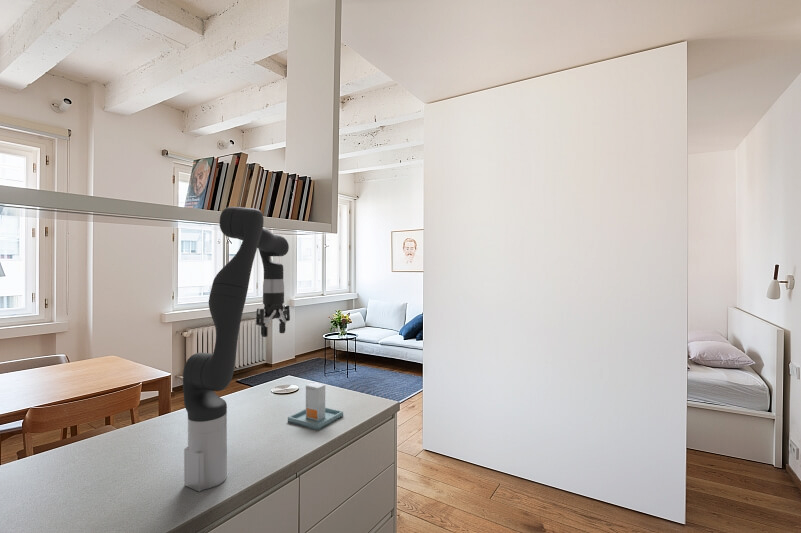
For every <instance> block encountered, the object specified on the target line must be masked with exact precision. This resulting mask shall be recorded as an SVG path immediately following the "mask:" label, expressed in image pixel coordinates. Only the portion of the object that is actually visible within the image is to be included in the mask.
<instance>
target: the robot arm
mask: <svg viewBox="0 0 801 533" xmlns="http://www.w3.org/2000/svg"><path fill="white" fill-rule="evenodd" d="M264 224H265V223H264V214H263V212H262V211H261V210H260V209H257V208H252V207H241V206H227V207H225V208H224V209H223V210H221V212H220V216H219V229H220V232H221V233H222V234H223V235H224V236H225V237H228V238H231V239H237V240H239V241H241V244H240V245H239V246H240V247H239V248H238V251H237V252H236V253H235V255H234V256H233V257H232V258H231V259H230V260H229V261H228V262H227V263H226V264H225V265H224V266H223V267H222V268H221V269H220V270H219V271H218V272H217V274H216V275H215V277H214V279H213V281H212V285H211V287H210V292H209V297H208V308H209V312H210V315H211V319H212V321H213V323H214V328H215V335H216V336H215V343H214V349H213V352H212V353H208V352H197V353H194V354H192V355H190V356H189V358H188V359H187V360H186V362H185V363H184V367H183V371H182V390H183V403H184V409H185V410H186V412H187V447H185V448H184V450H183V456H184V458H183V459H184V460H183V461H184V462H183V464H184V467H183V471H184V472H183V474H184V476H183V477H184V479H183V483H184V486H186V487H188V488H189V489H192V490H195V491H197V492H202V491H204V490H207V489H213V488H215V487H216V486H219V485H221V484H222V483H224V482H225V481H226V480H227V477H228V426H227V425H228V424H227V423H228V418H227V417H228V405H227V402H226V400H224V399H223V398H222V397H220V396H219V395H218V394H217V393H216V392H221V391H223V390H225V389H227V387H228V386H229V385H230V383H231V381H232V378H233V375H234V373H235V372H234V371H235V365H236V361H237V360H236V358H237V350H238V349H237V348H238V339H239V333H240V327H241V322H242V317H243V313H244V309H245V303H246V301H247V300H246V299H247V294H248V290H249V287H250V286H249V285H250V281H251V280H250V279H251V274H252V273H251V272H252V268H253V265H254V260H255V257H256V253H257V250H258V252H259V255H260V257H261V258H260V259H261V263H262V267H263V282H262V305H264V306H263V308H257V309H256V314H255V315H256V317H255V320H256V321H255V325H256V326H260V335H261V337H263V338H267V337H268V335H269V334H268V330H269V329H268V325H269V323H270V322H271V321H272V320H274V319H277V320H278V322H279V326H278V327H279V328H278V330H279V331H278V332H279V334H285V333H286V323H287V322H290V320H291V316H290V315H291V314H290V305H288V304H287V305H286V304H284V303H285V282H284V265H283V263H279V262H276V261H273V260H272V258H271V257H284V256H285V255H287V254H288V252H289V249H290V246H289V243H288V240H287V239H286V238H285V237H283V236H282V235H278V234H274V233H272V232H271V231H270V230H269V229H268V228H265V227H264Z"/></svg>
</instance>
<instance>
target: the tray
mask: <svg viewBox="0 0 801 533" xmlns="http://www.w3.org/2000/svg"><path fill="white" fill-rule="evenodd" d="M343 417H344V411H343V410H339V409H334V408H331V407H330V408H329V407H326V406H325V418H323V419H321V420H319V421H316V420H313V419H309V418H306V408H304V409H302V410H300V411H298V412H296V413H294V414H292V415H289V416H288V417H287V423H289V424H293V425H298V426H301V427H305V428H308V429H312V430H317V431H320V430H321V429H323V428H325V427H327V426H329V425H330V424H333V423H334V422H336V421H337V420H340V419H341V418H343Z"/></svg>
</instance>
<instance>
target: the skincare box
mask: <svg viewBox="0 0 801 533" xmlns="http://www.w3.org/2000/svg"><path fill="white" fill-rule="evenodd" d="M325 407H326V384H322V383H316V382H311V383H308V384H306V385H305V409H306V418H309V419H313V420H316V421H319V420H321V419H323V418H325Z"/></svg>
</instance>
